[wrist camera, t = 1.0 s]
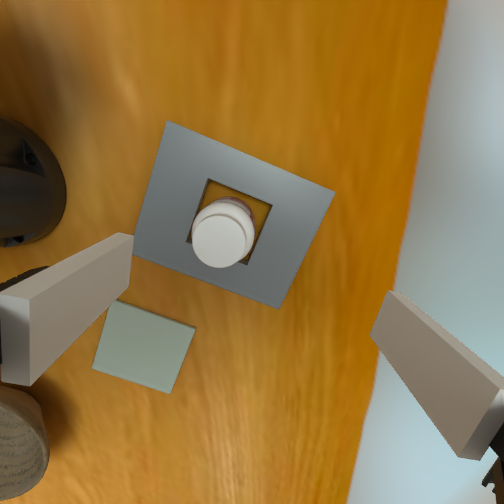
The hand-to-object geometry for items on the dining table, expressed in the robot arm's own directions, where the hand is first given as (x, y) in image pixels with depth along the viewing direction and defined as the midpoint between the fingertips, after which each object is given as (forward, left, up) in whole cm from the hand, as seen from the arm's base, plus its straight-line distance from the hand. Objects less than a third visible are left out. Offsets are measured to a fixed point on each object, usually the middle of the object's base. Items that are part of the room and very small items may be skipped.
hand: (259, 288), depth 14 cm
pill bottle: (-3, -1, -21) cm, 21 cm away
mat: (-8, -23, -21) cm, 32 cm away
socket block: (-3, -1, -21) cm, 21 cm away
